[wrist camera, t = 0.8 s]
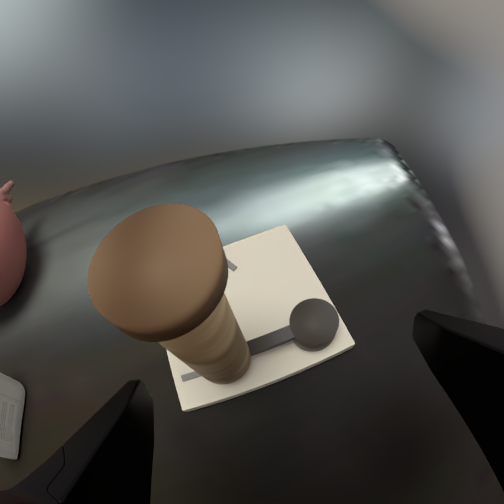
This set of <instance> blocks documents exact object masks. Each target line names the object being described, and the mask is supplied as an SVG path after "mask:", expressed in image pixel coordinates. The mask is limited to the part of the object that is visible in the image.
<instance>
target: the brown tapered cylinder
mask: <svg viewBox="0 0 504 504" xmlns="http://www.w3.org/2000/svg"><path fill="white" fill-rule="evenodd" d="M227 280H228V262H227V258H226V255H225V252H224V249H223V246H222V243H221V240H220V237H219V234H218V231H217V229H216V227H215V225H214V223H213V222H212V220H211V219H210V218H209V217H208V216H207V215H206V214H205V213H203V212H202V211H200V210H198V209H196V208H194V207H191V206H188V205H183V204H162V205H157V206H153V207H149V208H146V209H144V210H141V211H139V212H137V213H135V214H133V215H131V216H129V217H128V218H126V219H125V220H123V221H122V222H121V223H119V224H118V225H117V226H116V227H115V228H114V229H112V230H111V231H110V232H109V233H108V235H107V236H106V237H105V238H104V239H103V241H102V242H101V243H100V245H99V247H98V248H97V250H96V252H95V254H94V256H93V258H92V261H91V264H90V267H89V272H88V291H89V296H90V298H91V301H92V303H93V305H94V306H95V308H96V309H97V310H98V312H99V313H100V314H101V315H103V316H104V317H105V318H106V319H107V320H109V321H110V322H111V323H112V324H114V325H115V326H116V327H117V328H119V329H120V330H121V331H122V332H124V333H125V334H126V335H128V336H130V337H132V338H135V339H137V340H141V341H146V342H158V343H160V344H161V345H162V346H163V347H165V348H166V349H167V350H168V351H169V352H171V353H172V354H173V355H175V356H176V357H177V358H178V359H180V360H181V361H182V362H184V363H185V364H186V365H187V366H189V367H190V368H191V369H193V370H194V371H195V372H197V373H198V374H200V375H201V376H202V377H204V378H205V379H206V380H208V381H210V382H212V383H215V384H230V383H233V382H235V381H237V380H239V379H240V378H241V377H242V376H243V375H244V374H245V373H246V372H247V370H248V368H249V366H250V362H251V356H254V355H257V354H259V353H262V352H265V351H267V350H270V349H272V348H275V347H278V346H280V345H283V344H285V343H288V342H290V341H293V342H294V343H295V344H296V345H297V346H298V347H299V348H301V349H303V350H306V351H313V352H314V351H320V350H322V349H324V348H326V347H327V346H329V345H330V344H331V342H332V341H333V339H334V337H335V335H336V332H337V330H338V327H339V316H338V313H337V311H336V309H335V308H334V307H333V306H332V305H331V304H330V303H329V302H327V301H325V300H322V299H318V298H311V299H306V300H304V301H302V302H300V303H298V304H297V305H296V306H295V307H294V309H293V310H292V312H291V315H290V319H289V325H288V326H286V327H283V328H281V329H278V330H276V331H273V332H270V333H268V334H265V335H263V336H260V337H257V338H255V339H252V340H249V341H246V340H245V338H244V336H243V333H242V331H241V329H240V327H239V325H238V322H237V320H236V318H235V316H234V313H233V311H232V309H231V307H230V304H229V302H228V300H227V298H226V295H225V293H224V292H225V289H226V286H227Z"/></svg>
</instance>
